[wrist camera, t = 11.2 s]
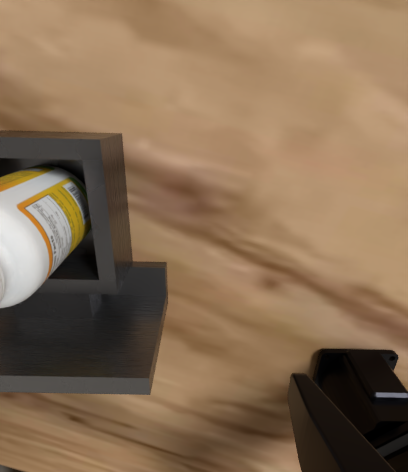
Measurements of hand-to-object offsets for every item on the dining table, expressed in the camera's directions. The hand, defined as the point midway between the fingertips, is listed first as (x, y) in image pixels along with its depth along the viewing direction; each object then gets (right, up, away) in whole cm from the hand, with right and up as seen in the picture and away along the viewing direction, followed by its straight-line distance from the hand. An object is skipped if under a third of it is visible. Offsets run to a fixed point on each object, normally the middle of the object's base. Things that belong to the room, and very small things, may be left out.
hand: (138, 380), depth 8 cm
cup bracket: (-8, +5, +12) cm, 15 cm away
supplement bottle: (-8, +6, +10) cm, 14 cm away
